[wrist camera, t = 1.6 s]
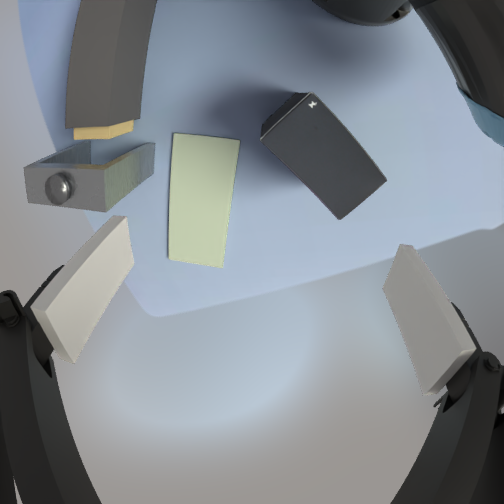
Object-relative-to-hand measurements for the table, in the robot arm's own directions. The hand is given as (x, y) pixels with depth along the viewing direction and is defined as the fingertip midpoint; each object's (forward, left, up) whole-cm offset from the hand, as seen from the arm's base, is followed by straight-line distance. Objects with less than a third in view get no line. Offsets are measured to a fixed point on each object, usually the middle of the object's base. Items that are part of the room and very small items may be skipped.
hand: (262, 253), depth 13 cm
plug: (-13, -19, -22) cm, 32 cm away
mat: (+8, -7, -22) cm, 24 cm away
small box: (-3, +5, -22) cm, 23 cm away
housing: (+2, -19, -22) cm, 29 cm away
